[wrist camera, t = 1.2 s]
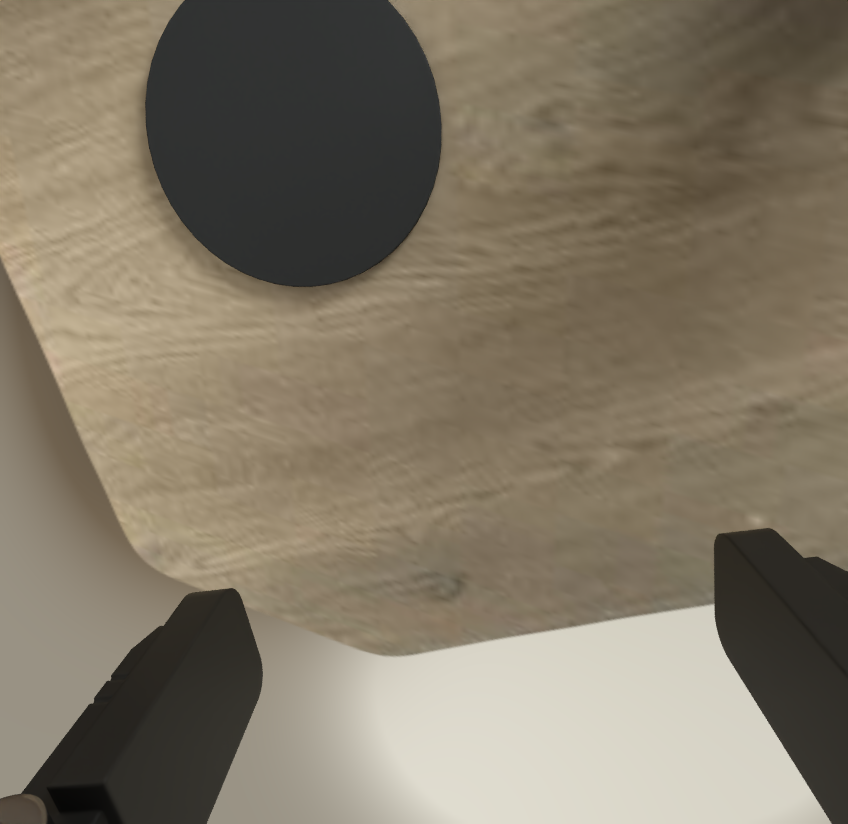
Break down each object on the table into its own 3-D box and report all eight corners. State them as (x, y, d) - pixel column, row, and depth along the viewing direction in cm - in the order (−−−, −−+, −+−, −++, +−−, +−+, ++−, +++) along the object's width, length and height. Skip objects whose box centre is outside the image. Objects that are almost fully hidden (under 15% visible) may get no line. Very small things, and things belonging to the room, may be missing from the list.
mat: (205, -106, 27) (200, -113, 27) (495, 57, 29) (495, 53, 28) (116, 207, 32) (109, 207, 31) (367, 332, 34) (366, 333, 33)
